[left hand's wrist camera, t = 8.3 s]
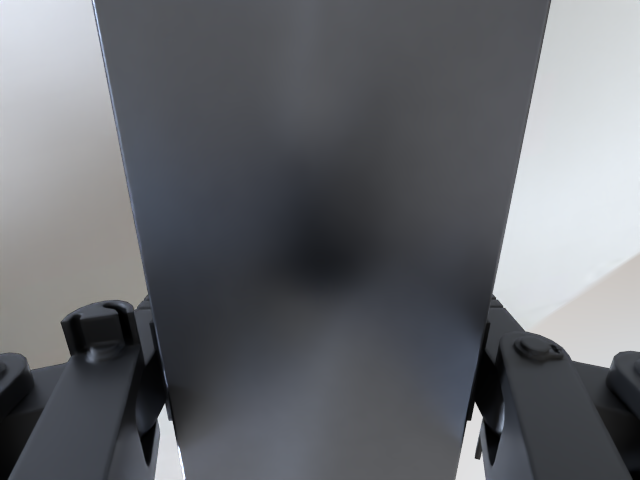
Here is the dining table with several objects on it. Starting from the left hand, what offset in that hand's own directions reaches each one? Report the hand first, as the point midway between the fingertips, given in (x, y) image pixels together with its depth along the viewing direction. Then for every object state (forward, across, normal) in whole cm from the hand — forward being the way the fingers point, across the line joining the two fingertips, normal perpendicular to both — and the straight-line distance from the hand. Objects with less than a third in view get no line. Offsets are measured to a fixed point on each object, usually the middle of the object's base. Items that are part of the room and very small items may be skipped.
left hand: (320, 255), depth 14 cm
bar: (+1, 0, -9) cm, 9 cm away
